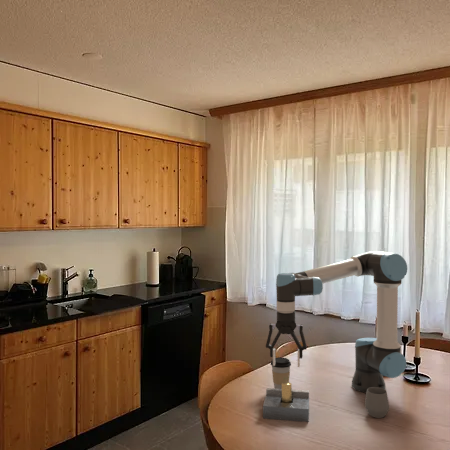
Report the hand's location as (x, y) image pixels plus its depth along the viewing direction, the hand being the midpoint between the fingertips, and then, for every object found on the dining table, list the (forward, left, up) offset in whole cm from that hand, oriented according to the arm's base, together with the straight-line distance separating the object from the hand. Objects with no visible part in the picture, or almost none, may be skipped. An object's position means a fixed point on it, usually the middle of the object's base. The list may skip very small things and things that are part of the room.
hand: (286, 365), depth 184 cm
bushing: (0, 0, -20) cm, 20 cm away
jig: (0, 0, -20) cm, 20 cm away
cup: (-36, -4, -20) cm, 41 cm away
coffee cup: (+4, -21, -20) cm, 29 cm away
